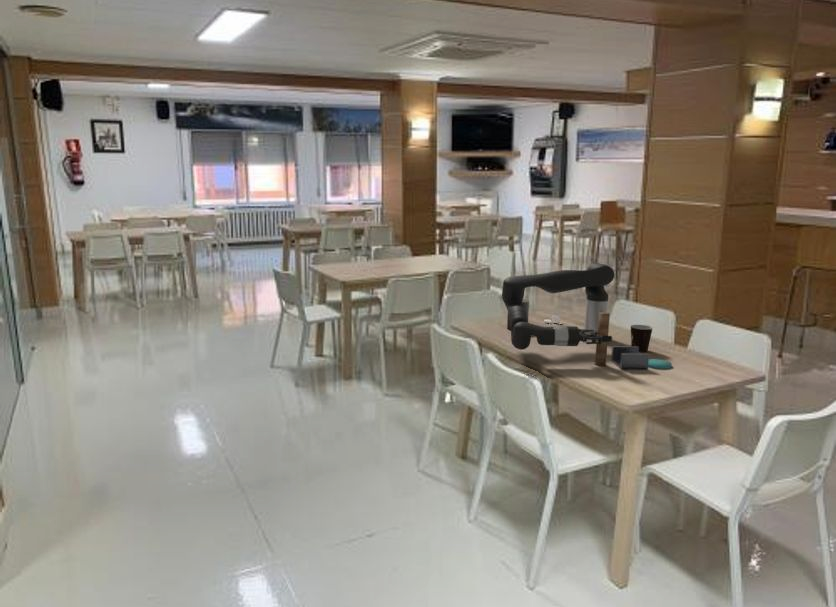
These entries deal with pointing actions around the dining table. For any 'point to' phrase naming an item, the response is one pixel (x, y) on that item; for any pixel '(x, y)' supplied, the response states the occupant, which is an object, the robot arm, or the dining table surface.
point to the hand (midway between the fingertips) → (608, 336)
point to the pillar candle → (524, 305)
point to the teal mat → (659, 364)
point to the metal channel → (629, 358)
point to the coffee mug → (641, 336)
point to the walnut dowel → (602, 348)
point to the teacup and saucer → (553, 319)
